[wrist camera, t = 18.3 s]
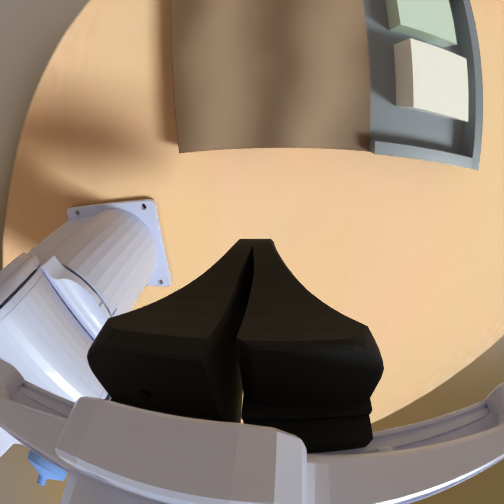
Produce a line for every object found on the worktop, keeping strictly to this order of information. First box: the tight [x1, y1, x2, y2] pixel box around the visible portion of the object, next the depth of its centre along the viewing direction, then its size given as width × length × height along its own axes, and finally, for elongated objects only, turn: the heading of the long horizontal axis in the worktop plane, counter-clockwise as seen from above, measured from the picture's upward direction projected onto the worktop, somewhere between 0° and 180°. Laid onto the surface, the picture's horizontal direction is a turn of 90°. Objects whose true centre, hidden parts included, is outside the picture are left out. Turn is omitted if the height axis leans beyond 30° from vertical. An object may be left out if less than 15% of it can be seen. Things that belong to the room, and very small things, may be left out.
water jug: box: [28, 450, 67, 486], centre depth 52 cm, size 16×16×28 cm
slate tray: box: [363, 0, 483, 170], centre depth 12 cm, size 9×15×3 cm, turn 3°
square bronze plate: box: [171, 0, 370, 153], centre depth 13 cm, size 12×15×2 cm
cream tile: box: [394, 38, 468, 122], centre depth 11 cm, size 4×4×2 cm
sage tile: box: [385, 0, 457, 47], centre depth 9 cm, size 4×4×2 cm
